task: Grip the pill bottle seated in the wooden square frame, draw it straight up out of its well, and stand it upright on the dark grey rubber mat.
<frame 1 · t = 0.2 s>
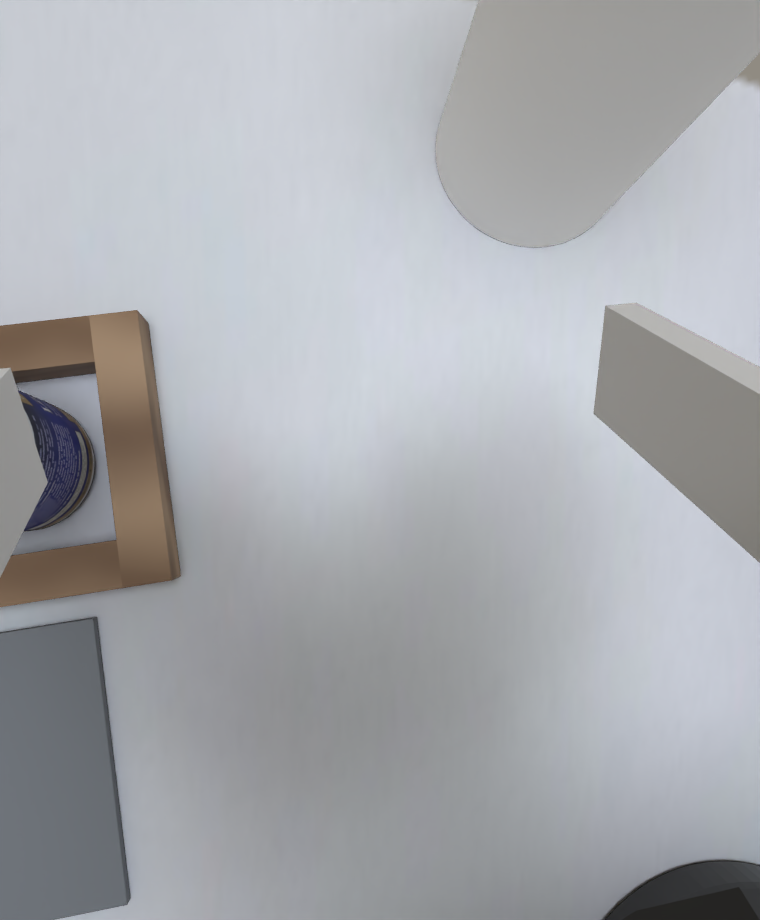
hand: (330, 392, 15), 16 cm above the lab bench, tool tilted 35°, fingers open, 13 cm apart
cylinder container: (528, 156, 34), on the lab bench
pill bottle: (33, 466, 31), resting in wooden square frame
wooden square frame: (31, 466, 30), on the lab bench
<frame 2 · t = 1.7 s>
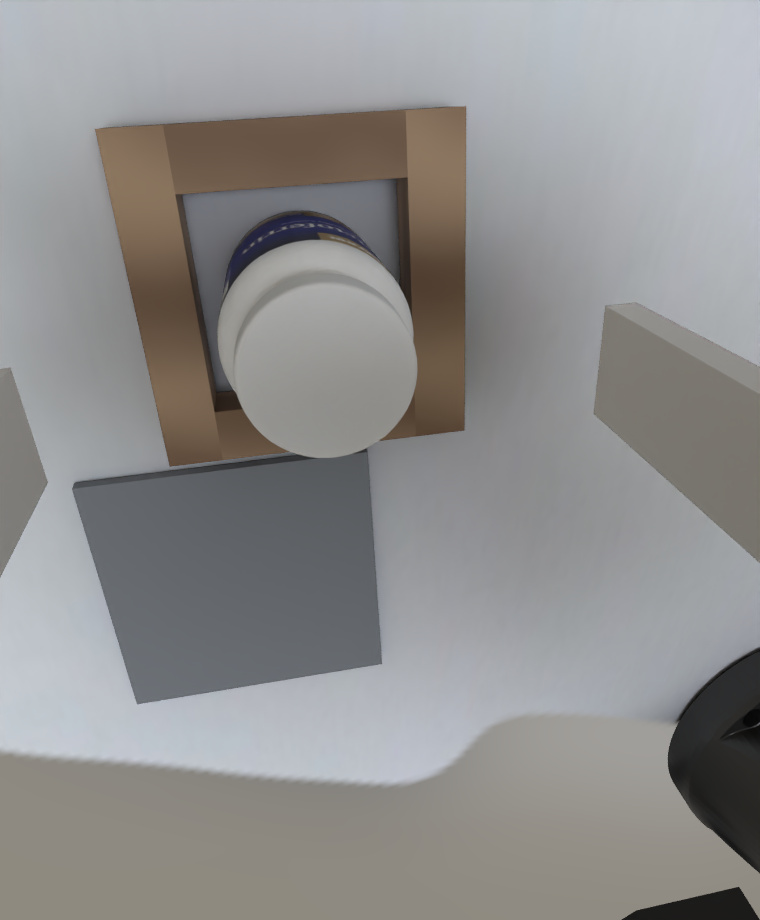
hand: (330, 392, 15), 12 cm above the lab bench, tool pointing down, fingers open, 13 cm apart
pill bottle: (301, 286, 26), resting in wooden square frame
rubber mat: (244, 579, 31), on the lab bench
wooden square frame: (302, 288, 26), on the lab bench
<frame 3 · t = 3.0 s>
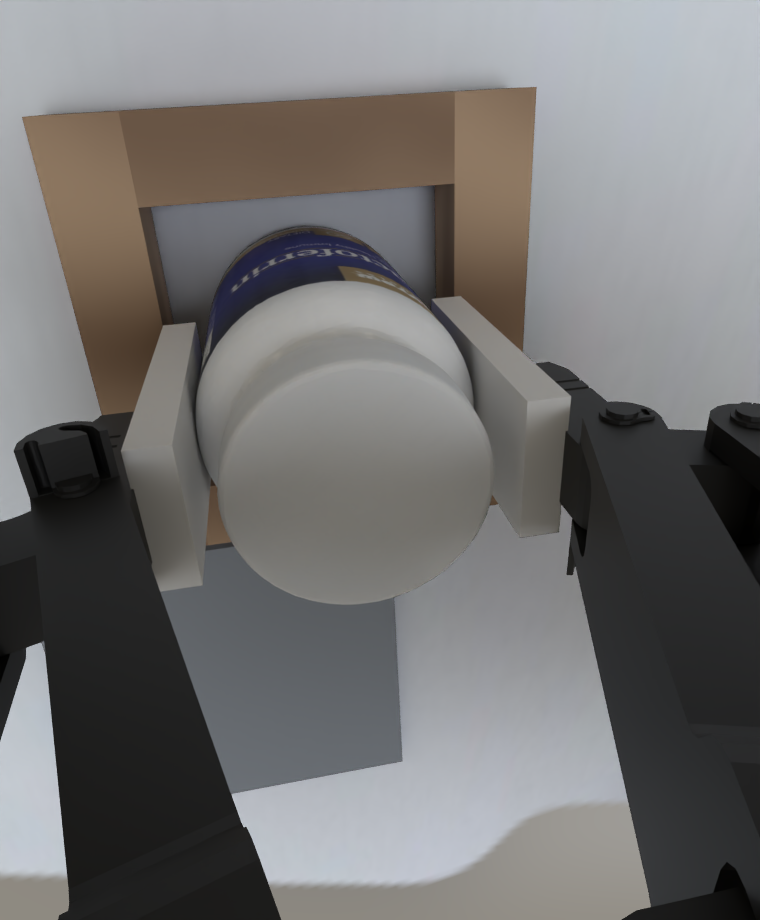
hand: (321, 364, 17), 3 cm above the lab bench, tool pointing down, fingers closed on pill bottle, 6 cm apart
pill bottle: (308, 322, 20), resting in wooden square frame, touching gripper
rubber mat: (237, 672, 26), on the lab bench
wooden square frame: (309, 325, 20), on the lab bench
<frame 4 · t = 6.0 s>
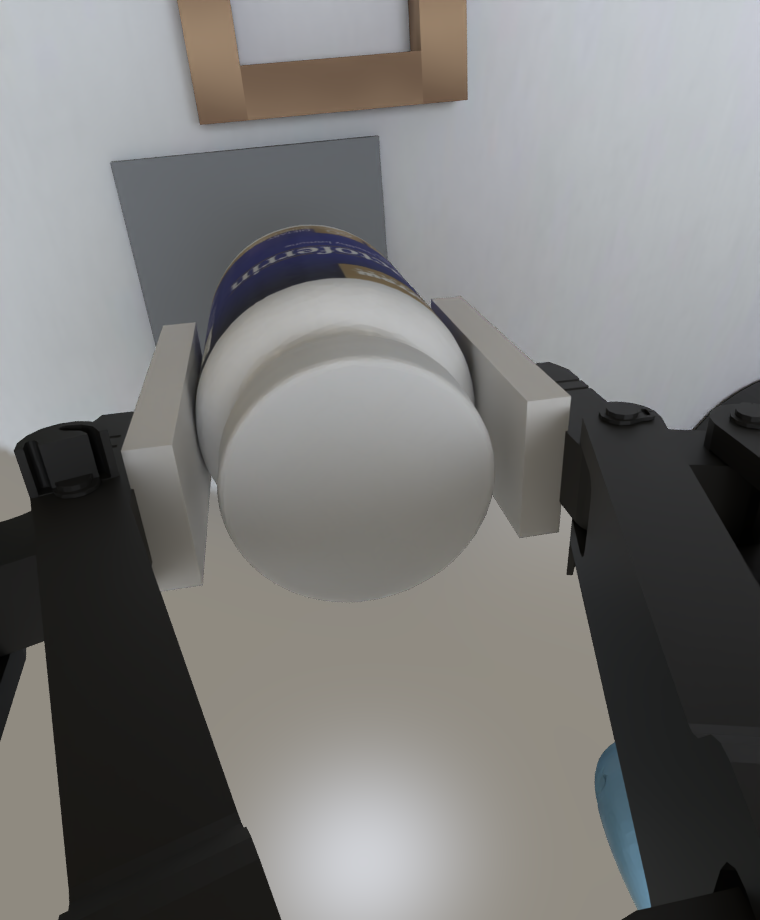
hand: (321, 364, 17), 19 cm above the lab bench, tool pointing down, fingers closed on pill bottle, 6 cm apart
pill bottle: (309, 321, 20), point 15 cm above the lab bench, touching gripper
rubber mat: (268, 279, 34), on the lab bench
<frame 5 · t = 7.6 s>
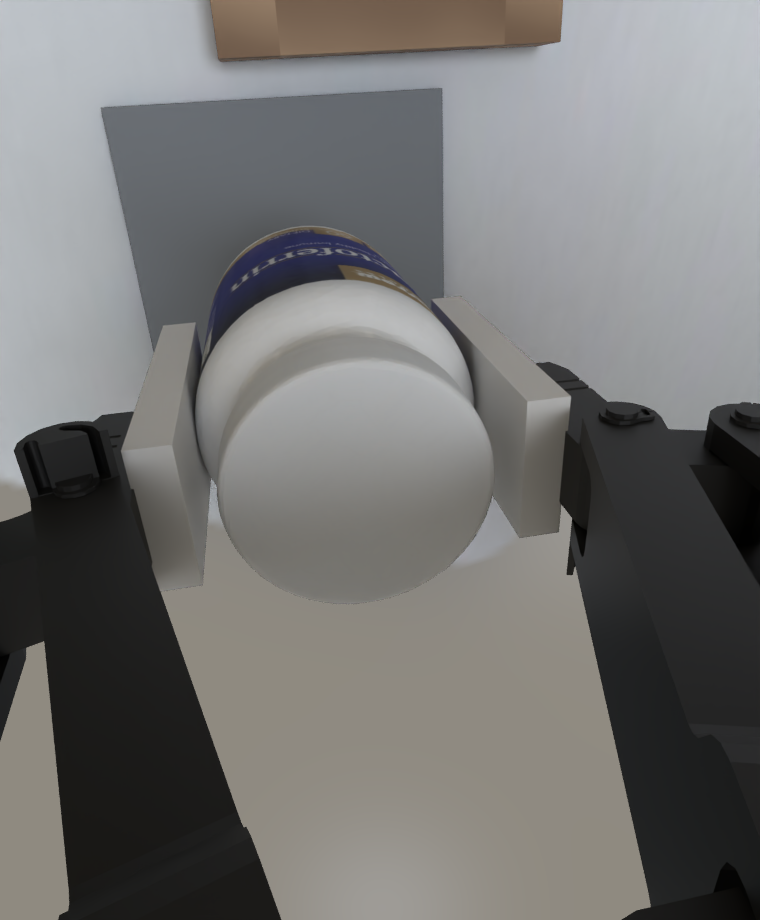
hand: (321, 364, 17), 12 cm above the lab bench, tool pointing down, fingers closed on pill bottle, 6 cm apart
pill bottle: (308, 322, 20), point 8 cm above the lab bench, touching gripper
rubber mat: (294, 266, 27), on the lab bench
when the fingers open (5 cm above the lab bench, at t = 9.1 s): pill bottle drops 1 cm, resting on rubber mat.
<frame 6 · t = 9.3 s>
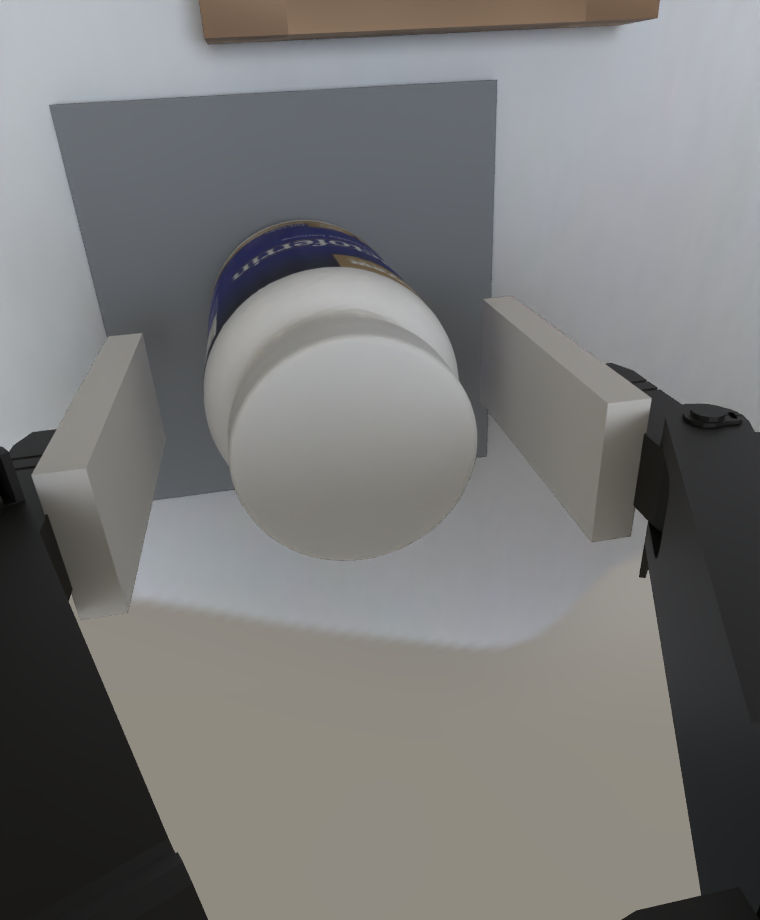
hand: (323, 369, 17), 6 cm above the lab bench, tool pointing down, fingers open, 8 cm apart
pill bottle: (302, 311, 21), resting on rubber mat
rubber mat: (304, 306, 22), on the lab bench
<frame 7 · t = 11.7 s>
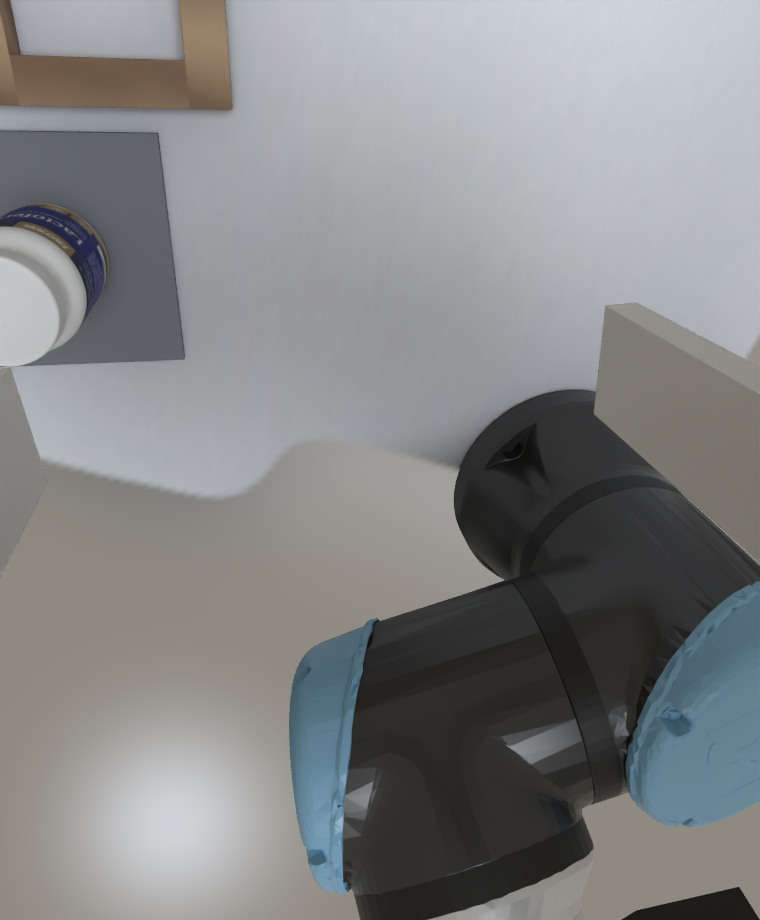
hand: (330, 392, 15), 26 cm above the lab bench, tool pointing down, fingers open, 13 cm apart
pill bottle: (53, 256, 36), resting on rubber mat
rubber mat: (56, 255, 37), on the lab bench
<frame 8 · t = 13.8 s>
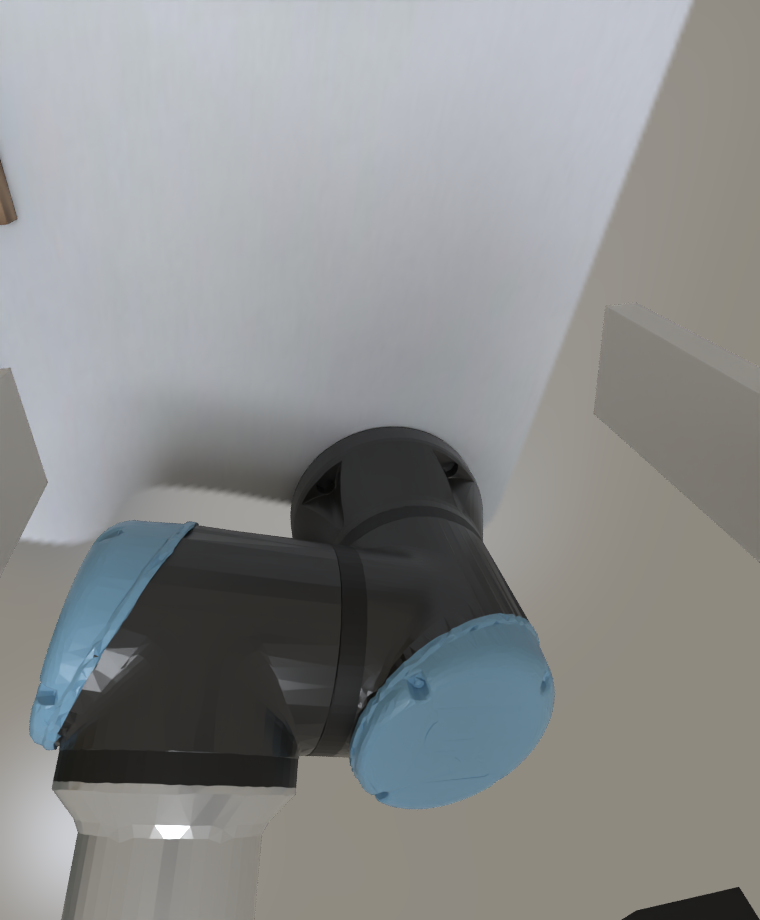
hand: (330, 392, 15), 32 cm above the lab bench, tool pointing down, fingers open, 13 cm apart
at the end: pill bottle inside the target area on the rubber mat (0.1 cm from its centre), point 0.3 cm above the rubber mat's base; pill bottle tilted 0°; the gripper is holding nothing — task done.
